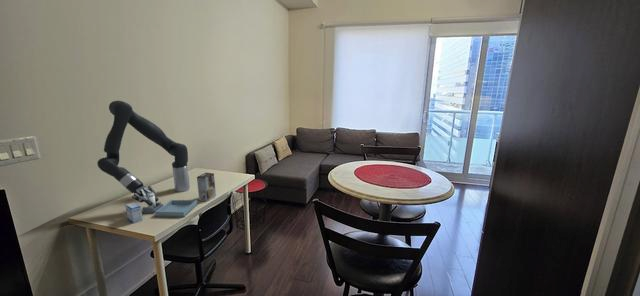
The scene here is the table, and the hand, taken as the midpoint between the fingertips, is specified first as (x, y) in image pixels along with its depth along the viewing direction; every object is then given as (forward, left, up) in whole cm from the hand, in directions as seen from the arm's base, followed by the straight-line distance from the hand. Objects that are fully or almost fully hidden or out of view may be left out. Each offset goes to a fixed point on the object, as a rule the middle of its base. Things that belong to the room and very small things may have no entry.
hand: (154, 202), depth 157 cm
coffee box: (-18, +23, -5) cm, 30 cm away
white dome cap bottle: (0, -2, -5) cm, 5 cm away
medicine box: (+12, -4, -5) cm, 14 cm away
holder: (0, -2, -5) cm, 5 cm away
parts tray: (0, +13, -5) cm, 14 cm away
